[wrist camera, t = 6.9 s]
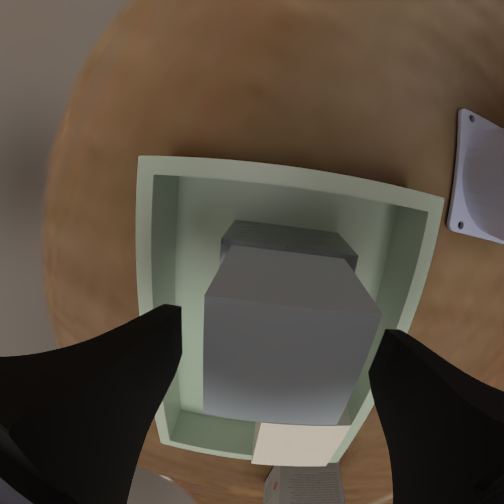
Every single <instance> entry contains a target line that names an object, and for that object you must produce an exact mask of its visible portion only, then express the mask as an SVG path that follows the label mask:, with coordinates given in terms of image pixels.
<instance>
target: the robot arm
mask: <svg viewBox="0 0 504 504" xmlns="http://www.w3.org/2000/svg"><path fill="white" fill-rule="evenodd" d="M469 116H470V117H471V121H470V119H469ZM459 222H460V227H459V228H458V223H459ZM447 227H448V229H449V230H451V231H453V232H457V233H462V234H466V235H470V236H474V237H478V238H482V239H486V240H490V241H493V242H497V243H501V244H504V128H500V127H499V126H497V125H495V124H494V123H492V122H490V121H488V120H486V119H485V118H483V117H481V116H479V115H477V114H475V113H473V112H471V111H469V110H467V109H465V108H464V109H460V110H459V112H458V137H457V153H456V164H455V173H454V182H453V189H452V196H451V202H450V208H449V213H448V219H447ZM182 353H183V352H182V306H176V305H170V304H163V305H160V306H158V307H156V308H154V309H152V310H151V311H149V312H147V313H145V314H143V315H141V316H139V317H137V318H135V319H133V320H131V321H130V322H128V323H126V324H124V325H122V326H119V327H117V328H115V329H113V330H111V331H108V332H106V333H104V334H102V335H100V336H97V337H95V338H92V339H89V340H87V341H84V342H81V343H78V344H75V345H72V346H68V347H64V348H60V349H56V350H52V351H47V352H43V353H37V354H30V355H22V356H10V357H0V504H127V499H128V495H129V491H130V487H131V483H132V479H133V475H134V472H135V468H136V465H137V462H138V458H139V455H140V452H141V449H142V446H143V443H144V440H145V437H146V435H147V432H148V429H149V427H150V425H151V423H152V420H153V419H154V417H155V415H156V413H157V411H158V409H159V407H160V405H161V403H162V401H163V399H164V397H165V395H166V393H167V391H168V389H169V387H170V385H171V383H172V381H173V379H174V377H175V374H176V371H177V368H178V366H179V363H180V359H181V356H182ZM368 375H369V381H370V387H371V392H372V396H373V400H374V403H375V406H376V409H377V412H378V415H379V418H380V422H381V425H382V428H383V431H384V434H385V438H386V441H387V445H388V449H389V455H390V462H391V469H392V481H393V504H504V392H503V391H501V390H498V389H496V388H493V387H491V386H489V385H487V384H485V383H483V382H481V381H479V380H477V379H475V378H473V377H471V376H470V375H468V374H466V373H464V372H463V371H461V370H460V369H458V368H457V367H455V366H453V365H452V364H450V363H449V362H447V361H446V360H444V359H443V358H442V357H440V356H439V355H437V354H436V353H434V352H433V351H432V350H430V349H429V348H427V347H426V346H425V345H423V344H422V343H420V342H419V341H417V340H416V339H414V338H413V337H411V336H410V335H408V334H407V333H405V332H403V331H401V330H399V329H385V331H384V334H383V336H382V339H381V342H380V344H379V347H378V349H377V352H376V354H375V357H374V359H373V362H372V364H371V367H370V369H369V371H368Z"/></svg>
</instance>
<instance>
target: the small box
mask: <svg viewBox="0 0 504 504" xmlns="http://www.w3.org/2000/svg"><path fill="white" fill-rule="evenodd" d="M263 504H345V497H344V490H343V483H342V476H341V469H340V463H339V461H338V462H337V463H328V464H327V465H326V466H276V465H274V467H273V469H272V470H271V472H270V474H269V476H268V477H267V479H266V481H265V483H264V497H263Z"/></svg>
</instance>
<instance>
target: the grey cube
mask: <svg viewBox="0 0 504 504" xmlns="http://www.w3.org/2000/svg"><path fill="white" fill-rule="evenodd" d="M381 317H382V313H381V311H380V309H379V308H378V306H377V305H376V303H375V302H374V300H373V299H372V297H371V296H370V295H369V293H368V292H367V290H366V289H365V287H364V286H363V284H362V283H361V281H360V280H359V278H358V277H357V276H356V274H355V273H354V271H353V270H352V269H351V267H350V266H349V264H348V263H347V262H346V260H345V259H342V258H334V257H326V256H318V255H310V254H302V253H294V252H286V251H277V250H269V249H261V248H253V247H244V246H236V245H231V247H230V249H229V251H228V253H227V254H226V256H225V258H224V260H223V262H222V264H221V265H220V267H219V269H218V271H217V273H216V275H215V277H214V278H213V280H212V282H211V284H210V286H209V288H208V290H207V291H206V293H205V295H204V330H203V413H205V414H210V415H216V416H222V417H228V418H235V419H242V420H251V421H260V422H270V423H283V424H302V425H337V423H338V421H339V419H340V417H341V415H342V413H343V411H344V409H345V407H346V405H347V403H348V401H349V398H350V396H351V394H352V392H353V390H354V387H355V385H356V383H357V381H358V378H359V376H360V374H361V371H362V369H363V366H364V364H365V361H366V359H367V356H368V354H369V351H370V349H371V346H372V343H373V340H374V338H375V335H376V332H377V329H378V326H379V323H380V320H381Z"/></svg>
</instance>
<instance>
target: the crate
mask: <svg viewBox="0 0 504 504" xmlns="http://www.w3.org/2000/svg"><path fill="white" fill-rule="evenodd" d="M444 199H445V198H442V197H439V196H435V195H431V194H428V193H424V192H420V191H416V190H412V189H408V188H404V187H400V186H396V185H391V184H387V183H382V182H378V181H373V180H368V179H363V178H358V177H353V176H348V175H342V174H337V173H331V172H325V171H319V170H312V169H306V168H299V167H292V166H284V165H276V164H268V163H259V162H249V161H239V160H227V159H214V158H198V157H177V156H138V170H137V189H136V270H137V289H138V303H139V315H140V316H141V315H143V314H145V313H147V312H149V311H151V310H152V309H154V308H156V307H158V306H160V305H163V304H170V305H176V306H182V352H183V353H182V356H181V359H180V363H179V366H178V368H177V371H176V374H175V377H174V379H173V381H172V383H171V385H170V387H169V389H168V391H167V393H166V395H165V397H164V399H163V401H162V403H161V405H160V407H159V409H158V411H157V413H156V415H155V420H156V424H157V428H158V433H159V437H160V441H161V443H163V444H167V445H171V446H175V447H179V448H183V449H187V450H192V451H196V452H201V453H207V454H212V455H218V456H224V457H231V458H238V459H246V460H252V452H253V442H254V432H255V422H256V421H251V420H242V419H235V418H228V417H222V416H216V415H210V414H205V413H203V330H204V295H205V293H206V291H207V290H208V288H209V286H210V284H211V282H212V280H213V278H214V277H215V275H216V273H217V271H218V269H219V263H220V249H221V238H222V237H223V235H224V234H225V233H226V231H227V230H228V229H229V227H230V226H231V225H232V223H233V222H234V221H235V220H243V221H252V222H260V223H268V224H276V225H284V226H292V227H299V228H307V229H314V230H321V231H328V232H335V233H338V234H339V235H340V236H341V237H342V238H343V239H344V240H345V241H346V242H347V243H348V244H349V245H350V247H351V248H352V249H353V250H354V251H355V252H356V253H357V254H358V255H359V257H358V261H357V266H356V270H355V274H356V276H357V277H358V278H359V280H360V281H361V283H362V284H363V286H364V287H365V289H366V290H367V292H368V293H369V295H370V296H371V297H372V299H373V300H374V302H375V303H376V305H377V306H378V308H379V309H380V311H381V313H382V317H381V320H380V323H379V326H378V329H377V332H376V335H375V338H374V340H373V343H372V346H371V349H370V351H369V354H368V356H367V359H366V361H365V364H364V366H363V369H362V371H361V374H360V376H359V378H358V381H357V383H356V385H355V387H354V390H353V392H352V394H351V396H350V398H349V401H348V403H347V409H348V413H349V417H350V422H351V427H350V429H349V430H348V432H347V434H346V435H345V437H344V439H343V440H342V442H341V444H340V445H339V447H338V448H337V450H336V452H335V453H334V455H333V456H332V458H331V459H330V461H329V462H328V463H337V462H338V461H339V460H340V458H341V457H342V455H343V454H344V452H345V451H346V450H347V448H348V447H349V445H350V443H351V442H352V440H353V439H354V437H355V436H356V434H357V432H358V431H359V429H360V428H361V426H362V424H363V423H364V421H365V419H366V417H367V416H368V414H369V412H370V410H371V409H372V407H373V405H374V400H373V396H372V392H371V387H370V381H369V375H368V371H369V369H370V367H371V364H372V362H373V359H374V357H375V354H376V352H377V349H378V347H379V344H380V342H381V339H382V336H383V334H384V331H385V329H399V330H401V331H403V332H405V333H408V330H409V328H410V325H411V322H412V320H413V317H414V314H415V311H416V309H417V306H418V303H419V300H420V297H421V294H422V291H423V288H424V284H425V281H426V278H427V274H428V271H429V267H430V264H431V260H432V256H433V252H434V248H435V244H436V240H437V235H438V231H439V226H440V221H441V216H442V210H443V205H444Z"/></svg>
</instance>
